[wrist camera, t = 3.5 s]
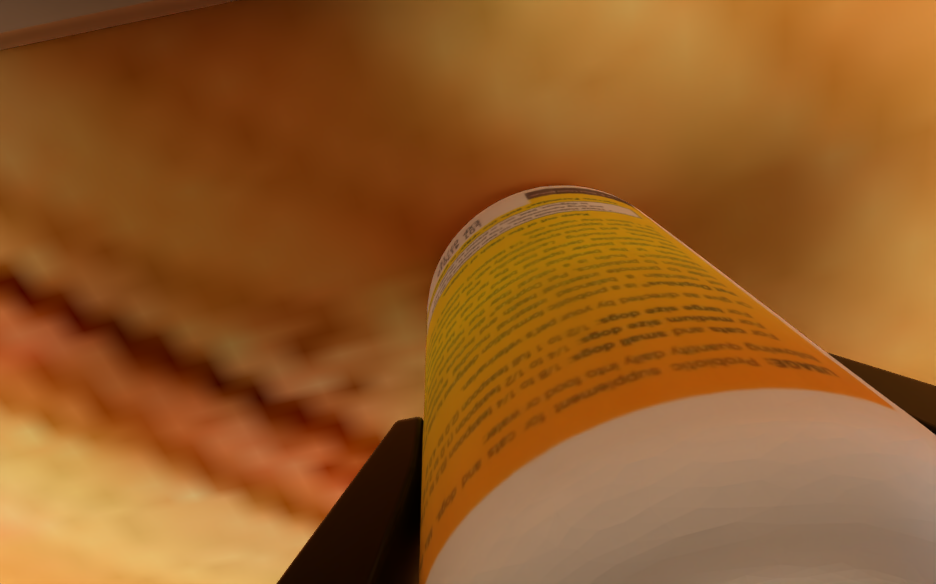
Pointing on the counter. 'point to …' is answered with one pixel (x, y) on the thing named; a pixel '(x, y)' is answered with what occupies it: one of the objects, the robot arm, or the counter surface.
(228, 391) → the counter surface
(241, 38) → the counter surface
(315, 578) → the robot arm
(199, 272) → the counter surface
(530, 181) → the counter surface
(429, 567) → the supplement bottle
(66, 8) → the walnut stand
